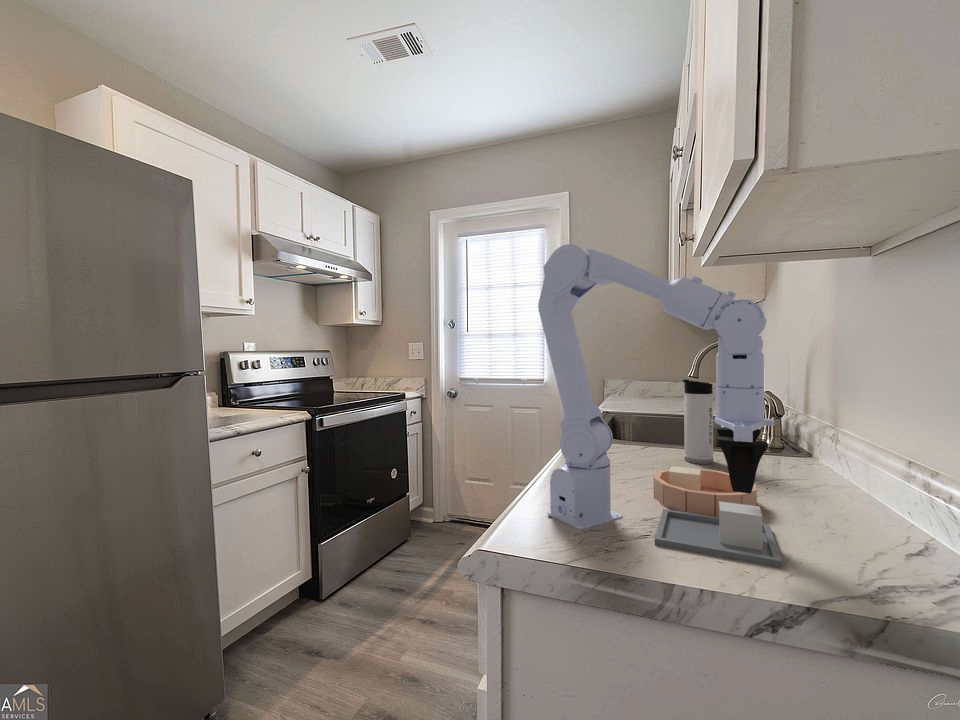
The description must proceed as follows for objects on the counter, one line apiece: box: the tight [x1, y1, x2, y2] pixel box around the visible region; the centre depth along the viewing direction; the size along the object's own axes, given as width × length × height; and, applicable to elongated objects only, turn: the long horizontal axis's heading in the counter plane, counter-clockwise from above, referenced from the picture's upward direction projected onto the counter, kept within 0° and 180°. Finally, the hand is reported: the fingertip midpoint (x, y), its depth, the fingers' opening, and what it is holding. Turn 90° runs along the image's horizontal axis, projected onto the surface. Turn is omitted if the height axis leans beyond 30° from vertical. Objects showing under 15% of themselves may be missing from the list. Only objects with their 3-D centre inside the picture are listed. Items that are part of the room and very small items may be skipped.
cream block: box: [669, 465, 702, 491], centre depth 79 cm, size 5×4×5 cm
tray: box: [654, 508, 783, 569], centre depth 62 cm, size 13×15×1 cm
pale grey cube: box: [719, 501, 764, 550], centre depth 61 cm, size 5×4×5 cm
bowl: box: [653, 467, 758, 517], centre depth 77 cm, size 16×16×4 cm
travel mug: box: [682, 379, 714, 465], centre depth 106 cm, size 6×7×20 cm
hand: (740, 483), depth 61 cm, fingers open, 7 cm apart
